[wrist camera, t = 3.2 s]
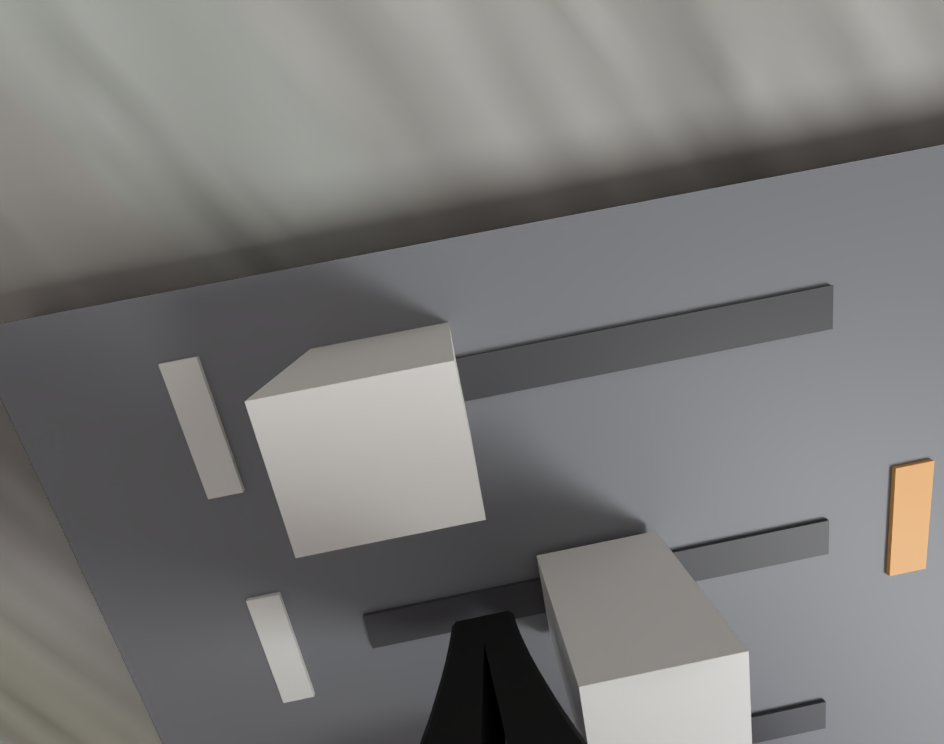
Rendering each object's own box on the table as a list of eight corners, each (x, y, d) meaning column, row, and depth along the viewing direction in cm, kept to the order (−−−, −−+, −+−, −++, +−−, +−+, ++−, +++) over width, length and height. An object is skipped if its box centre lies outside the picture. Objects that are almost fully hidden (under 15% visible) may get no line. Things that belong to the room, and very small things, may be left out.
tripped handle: (664, 617, 12) (752, 762, 9) (550, 640, 12) (595, 795, 9) (656, 530, 12) (748, 651, 8) (536, 555, 12) (579, 686, 8)
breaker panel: (957, 701, 16) (1183, 898, 11) (260, 851, 16) (179, 1126, 11) (1020, 130, 12) (1456, 43, 7) (30, 318, 11) (-300, 375, 6)
